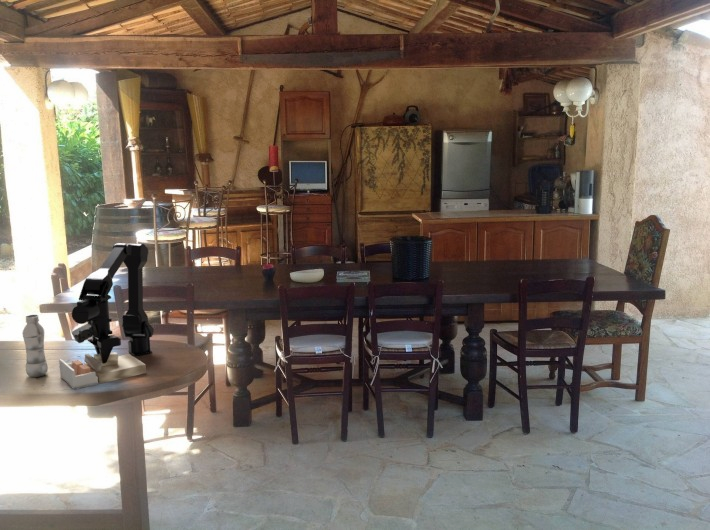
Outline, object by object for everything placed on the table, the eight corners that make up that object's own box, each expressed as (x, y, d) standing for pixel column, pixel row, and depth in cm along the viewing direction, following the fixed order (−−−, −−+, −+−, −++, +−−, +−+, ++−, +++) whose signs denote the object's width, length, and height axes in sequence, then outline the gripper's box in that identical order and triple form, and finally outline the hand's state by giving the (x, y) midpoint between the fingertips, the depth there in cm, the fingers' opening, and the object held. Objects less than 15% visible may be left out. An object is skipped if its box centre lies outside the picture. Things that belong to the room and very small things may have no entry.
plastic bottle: (25, 380, 204) (19, 319, 200) (27, 373, 210) (21, 314, 206) (48, 377, 206) (42, 317, 202) (48, 371, 212) (43, 312, 209)
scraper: (109, 358, 215) (110, 348, 215) (123, 368, 206) (123, 357, 206) (84, 361, 210) (85, 351, 210) (97, 371, 201) (97, 360, 201)
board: (129, 362, 221) (129, 353, 221) (145, 373, 211) (145, 364, 210) (84, 371, 212) (84, 363, 211) (99, 383, 201) (98, 374, 201)
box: (83, 372, 211) (82, 354, 210) (98, 384, 201) (96, 365, 200) (60, 377, 207) (59, 359, 206) (74, 389, 196) (72, 370, 195)
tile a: (78, 360, 208) (71, 361, 207) (83, 363, 204) (76, 364, 203) (79, 373, 209) (72, 374, 207) (83, 377, 205) (77, 378, 204)
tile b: (85, 364, 204) (78, 365, 202) (90, 368, 200) (83, 369, 199) (86, 377, 204) (79, 379, 203) (90, 381, 201) (84, 383, 200)
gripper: (64, 313, 207) (68, 360, 210) (83, 326, 193) (87, 375, 196) (99, 308, 214) (102, 353, 217) (120, 319, 200) (123, 367, 203)
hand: (103, 362), depth 208 cm, fingers closed on scraper, 2 cm apart
